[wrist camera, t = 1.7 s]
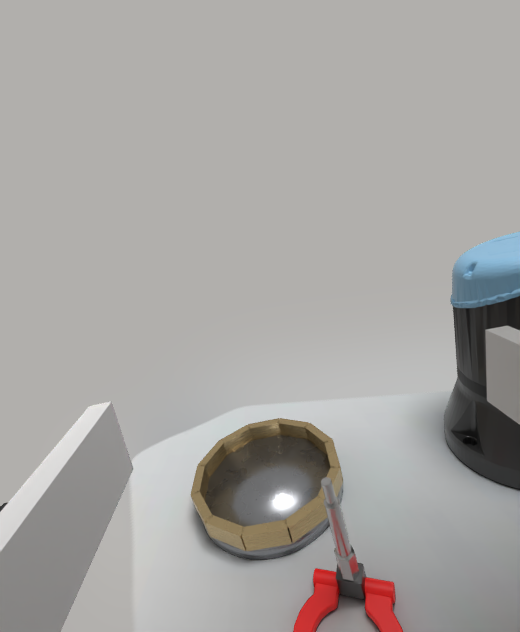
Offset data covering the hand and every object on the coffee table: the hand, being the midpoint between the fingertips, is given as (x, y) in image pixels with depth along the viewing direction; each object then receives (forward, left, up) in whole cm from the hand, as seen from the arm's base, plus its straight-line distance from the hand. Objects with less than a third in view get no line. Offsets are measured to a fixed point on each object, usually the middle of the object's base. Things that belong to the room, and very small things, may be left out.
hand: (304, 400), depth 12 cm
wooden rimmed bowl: (+17, -16, -26) cm, 35 cm away
